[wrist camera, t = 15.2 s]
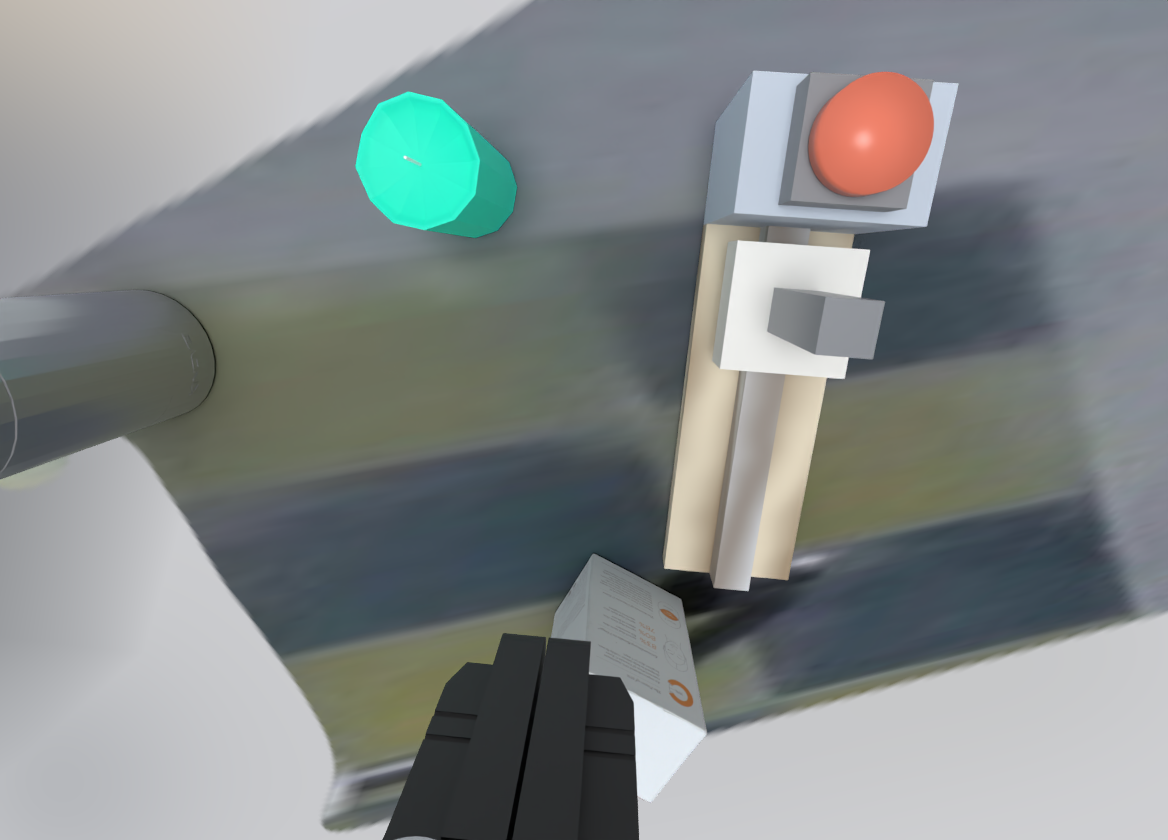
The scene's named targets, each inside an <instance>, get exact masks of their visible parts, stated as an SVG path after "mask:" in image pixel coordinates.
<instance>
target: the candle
mask: <svg viewBox="0 0 1168 840" xmlns="http://www.w3.org/2000/svg"><path fill="white" fill-rule="evenodd" d="M355 167H356V169H357V172H358V174H359V176H360V178H361V181H362V183H363V185H364V187H365V190H366V192H367V194H368V196H369V199H370V201H371V202H372V203H373V204H374V205H375V206H376V207H377V208H378V209H379V210H380V211H381V212H382V213H383V214H385V215H386V216H387V217H388V218H389V219H390V220H391V221H392V222H393V223H396V224H400V225H405V226H409V227H414V228H418V229H422V230H427V231H434V232H440V233H446V234H453V235H459V236H466V237H472V238H478V237H480V236H483V235H486V234H489V233H492V232H495V231H498V230H499V228H500V227H501V226H502V225H503V223H504V222H505V221H506V220H507V219H508V217H509V216H510V215H511V214H512V213H513V208H514V203H515V197H516V191H517V185H516V182H515V178H514V175H513V172H512V169H511V166H510V163H509V161H508V160H506V159H505V158H504V157H503V156H502V155H501V154H500V153H499V152H498V151H497V150H496V149H495V148H494V147H493V146H492V145H491V144H490V143H489V142H488V141H487V140H485V139H484V138H483V137H482V136H481V135H480V134H479V133H478V132H477V131H476V130H475V129H473V128H472V127H471V126H470V125H469V124H468V123H467V122H466V121H465V120H464V119H463V118H461V117H460V116H459V115H458V114H457V113H456V112H455V111H454V110H453V109H452V108H451V107H449V106H448V105H447V104H446V103H445V102H444V101H443V100H441V99H437V98H433V97H429V96H425V95H421V94H416V93H412V92H406V93H404V94H401V95H399V96H396V97H394V98H392V99H389V100H387V101H384V102H382V103H379V104H378V105H377V107H376V109H375V111H374V112H373V114H372V116H371V118H370V120H369V121H368V123H367V125H366V127H365V128H364V130H363V132H362V135H361V140H360V145H359V150H358V155H357V160H356V166H355Z"/></svg>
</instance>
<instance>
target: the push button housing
mask: <svg viewBox="0 0 1168 840" xmlns="http://www.w3.org/2000/svg"><path fill="white" fill-rule="evenodd" d="M863 76H865V75H851V74H835V73H819V72H811V73H810V74H798V73H782V72H766V71H753V72H752V73H751V75H750V76H749V77H748V79H747V80H746V82H745V83H744V84H743V86H742V87H741V88H740V90H739V91H738V93H737V94H736V95H735V97H734V98H733V99H732V101H731V102H730V104H729V105H728V106H727V108H726V109H725V111H724V112H723V113H722V115H721V116H720V117H719V119H718V120H717V122H716V126H715V134H714V142H713V151H712V159H711V167H710V175H709V183H708V191H707V200H706V208H705V216H704V224H703V225H705V224H718V225H732V226H745V227H759V228H761V227H766V226H779V227H793V228H807V229H810V231H815V232H829V233H843V234H862V233H872V232H881V231H891V230H900V229H910V228H919V227H927V222H928V218H929V214H930V209H931V205H932V200H933V196H934V191H935V187H936V182H937V178H938V173H939V169H940V164H941V160H942V156H943V151H944V147H945V142H946V138H947V133H948V129H949V124H950V120H951V115H952V111H953V106H954V102H955V98H956V93H957V89H958V84H957V83H941V82H934V80H930V79H914V78H910V79H911V80H913V81H914V82H916V83H917V84H918V85H919V86H920V87H921V88H922V90H923V91H924V92H925V94H926V95H927V97H928V99H929V101H930V104H931V107H932V111H933V116H934V132H933V138H932V142H931V145H930V148H929V150H928V153H927V155H926V157H925V158H924V160H923V162H922V163H921V165H920V166H919V167H918V169H917V170H916V171H915V172H914V173H913V174H912V175H911V176H910V177H909V178H908V179H906V180H905V181H904V182H902V183H901V184H899V185H897V186H896V187H894V188H891V189H889V190H886V191H882V192H879V193H875V194H871V195H867V196H861V197H848V196H843V195H840V194H837V193H835V192H833V191H831V190H829V189H828V188H827V187H825V186H824V185H823V184H822V183H821V182H820V180H819V179H818V178H817V176H816V175H815V173H814V171H813V169H812V167H811V163H810V160H809V153H808V143H809V136H810V131H811V128H812V125H813V123H814V121H815V119H816V116H817V115H818V113H819V112H820V110H821V109H822V107H823V106H824V105H825V104H826V103H827V102H828V101H829V100H830V99H831V98H832V97H833V96H834V95H836V94H837V93H838V92H840V91H841V90H842V89H844V88H845V87H846V86H848V85H849V84H850V83H852V82H853V81H855V80H857V79H858V78H861V77H863Z"/></svg>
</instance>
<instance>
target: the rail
mask: <svg viewBox="0 0 1168 840" xmlns="http://www.w3.org/2000/svg"><path fill="white" fill-rule="evenodd" d="M853 238H854V234H843V233H829V232H815V231H810V229H807V228H793V227H779V226H766V227H761V228H759V227H745V226H732V225H718V224H705V225H703V232H702V241H701V249H700V257H699V265H698V273H697V281H696V290H695V298H694V306H693V314H692V322H691V330H690V339H689V347H688V355H687V363H686V371H685V380H684V388H683V396H682V404H681V412H680V420H679V429H678V437H677V445H676V453H675V461H674V470H673V478H672V486H671V494H670V502H669V510H668V519H667V527H666V535H665V543H664V551H663V564H664V568H665V569H675V570H686V571H697V572H708V573H710V576H711V580H712V583H713V587H714V588H722V589H732V590H743V591H749V585H750V579H751V577H762V578H773V579H783V580H788V577H789V572H790V567H791V561H792V556H793V551H794V546H795V541H796V535H797V530H798V525H799V520H800V515H801V509H802V504H803V499H804V494H805V488H806V483H807V478H808V473H809V468H810V462H811V457H812V452H813V447H814V442H815V436H816V431H817V426H818V421H819V415H820V410H821V405H822V400H823V395H824V389H825V384H826V379H827V378H826V377H813V376H801V375H788V374H776V373H764V372H751V371H739V370H726V369H719V367H718V366H717V365H716V364H715V363H714V362H713V361H712V357H713V350H714V342H715V335H716V327H717V320H718V312H719V305H720V298H721V290H722V283H723V275H724V268H725V260H726V253H727V246H728V242H730V241H737V240H740V241H754V242H768V243H781V244H795V245H809V246H822V247H836V248H850V249H852V243H853Z"/></svg>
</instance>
